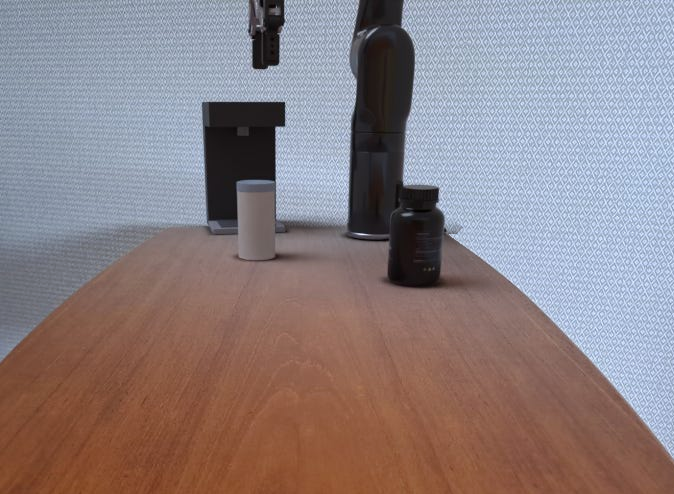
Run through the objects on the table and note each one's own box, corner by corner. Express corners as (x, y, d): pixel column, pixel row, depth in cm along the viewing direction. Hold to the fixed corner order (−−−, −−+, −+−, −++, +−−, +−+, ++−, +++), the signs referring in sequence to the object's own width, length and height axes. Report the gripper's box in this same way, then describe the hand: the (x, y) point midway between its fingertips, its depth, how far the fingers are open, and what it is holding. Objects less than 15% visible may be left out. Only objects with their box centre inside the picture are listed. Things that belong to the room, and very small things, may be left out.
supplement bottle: (376, 277, 90) (381, 184, 86) (419, 272, 92) (425, 182, 88) (406, 289, 84) (412, 190, 80) (450, 284, 87) (459, 188, 82)
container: (278, 253, 105) (277, 180, 101) (272, 261, 99) (271, 184, 96) (242, 252, 105) (240, 179, 101) (234, 259, 100) (232, 183, 96)
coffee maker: (285, 232, 122) (285, 101, 114) (213, 234, 120) (208, 101, 112) (272, 220, 134) (271, 102, 126) (206, 222, 132) (201, 102, 124)
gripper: (306, -84, 80) (303, 65, 86) (283, -57, 93) (282, 70, 99) (243, -88, 79) (244, 64, 84) (229, -61, 92) (231, 69, 97)
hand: (265, 67), depth 92 cm, fingers open, 8 cm apart
